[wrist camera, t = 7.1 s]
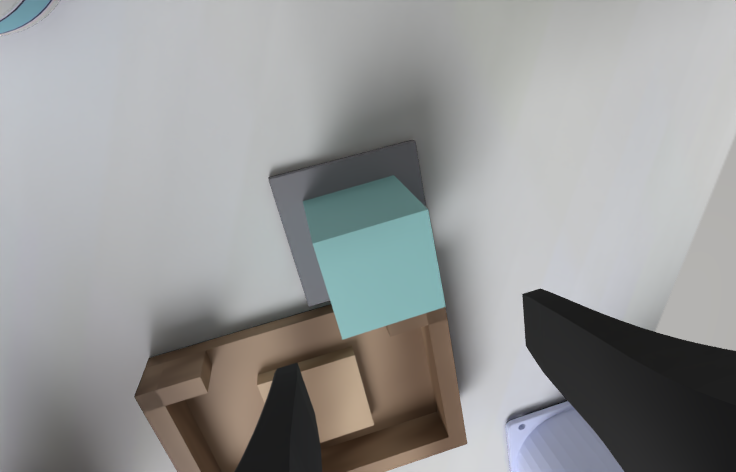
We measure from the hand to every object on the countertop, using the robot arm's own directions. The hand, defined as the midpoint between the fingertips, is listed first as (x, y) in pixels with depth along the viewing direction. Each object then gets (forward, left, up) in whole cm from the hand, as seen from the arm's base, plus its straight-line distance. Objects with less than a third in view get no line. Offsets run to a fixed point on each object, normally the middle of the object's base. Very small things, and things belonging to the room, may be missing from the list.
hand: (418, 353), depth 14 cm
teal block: (0, 0, -10) cm, 10 cm away
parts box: (+4, +9, -10) cm, 14 cm away
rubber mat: (0, 0, -10) cm, 10 cm away
